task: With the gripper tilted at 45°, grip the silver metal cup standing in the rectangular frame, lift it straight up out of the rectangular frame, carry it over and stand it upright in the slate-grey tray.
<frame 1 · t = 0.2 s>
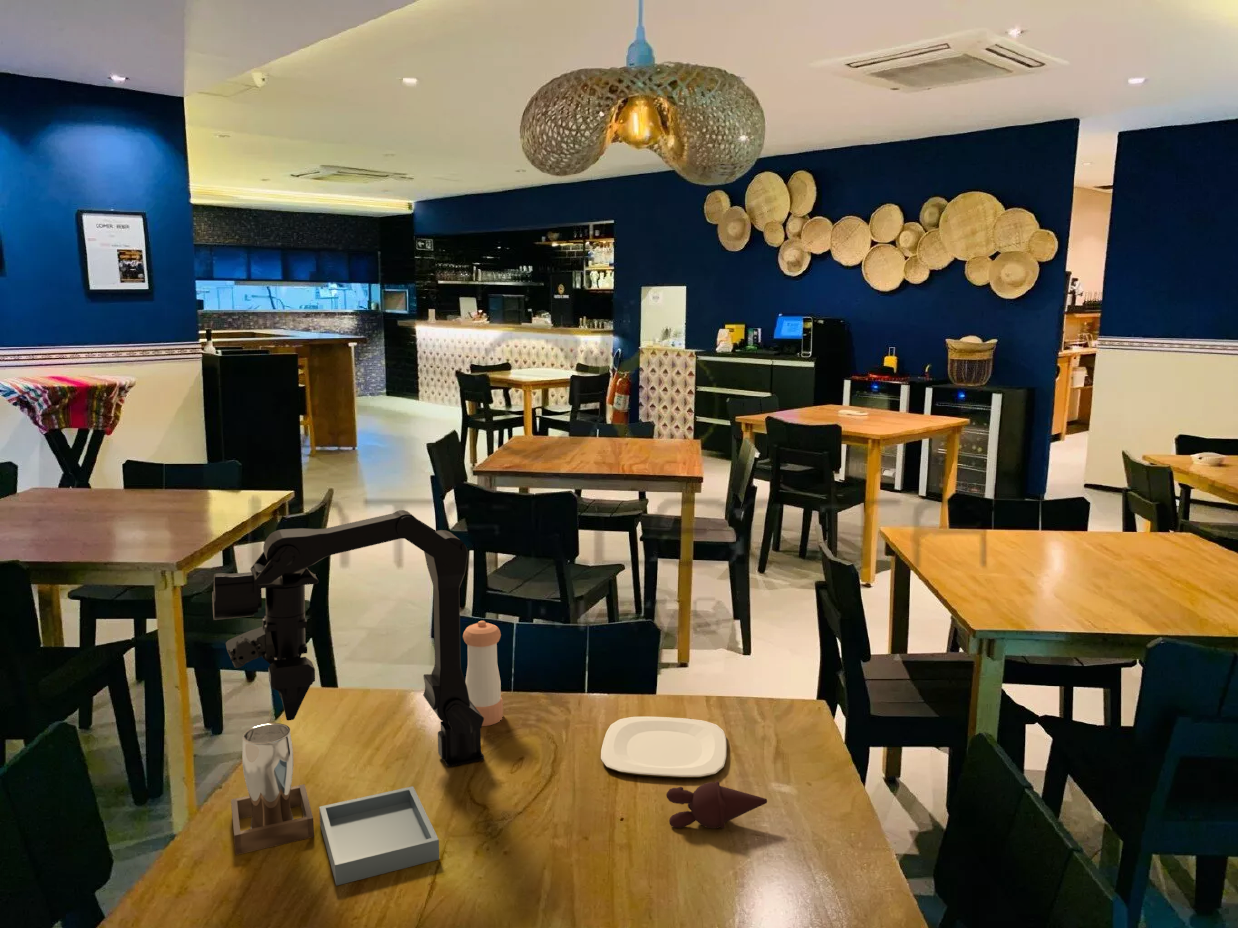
hand: (286, 708, 141), 14 cm above the table, tool pointing down, fingers open, 9 cm apart
salt shaker: (483, 718, 171), on the table
tray: (377, 841, 130), on the table
rectangular frame: (272, 827, 134), on the table
silver metal cup: (272, 828, 134), resting in rectangular frame
plate: (664, 753, 158), on the table
icecream: (716, 826, 135), on the table
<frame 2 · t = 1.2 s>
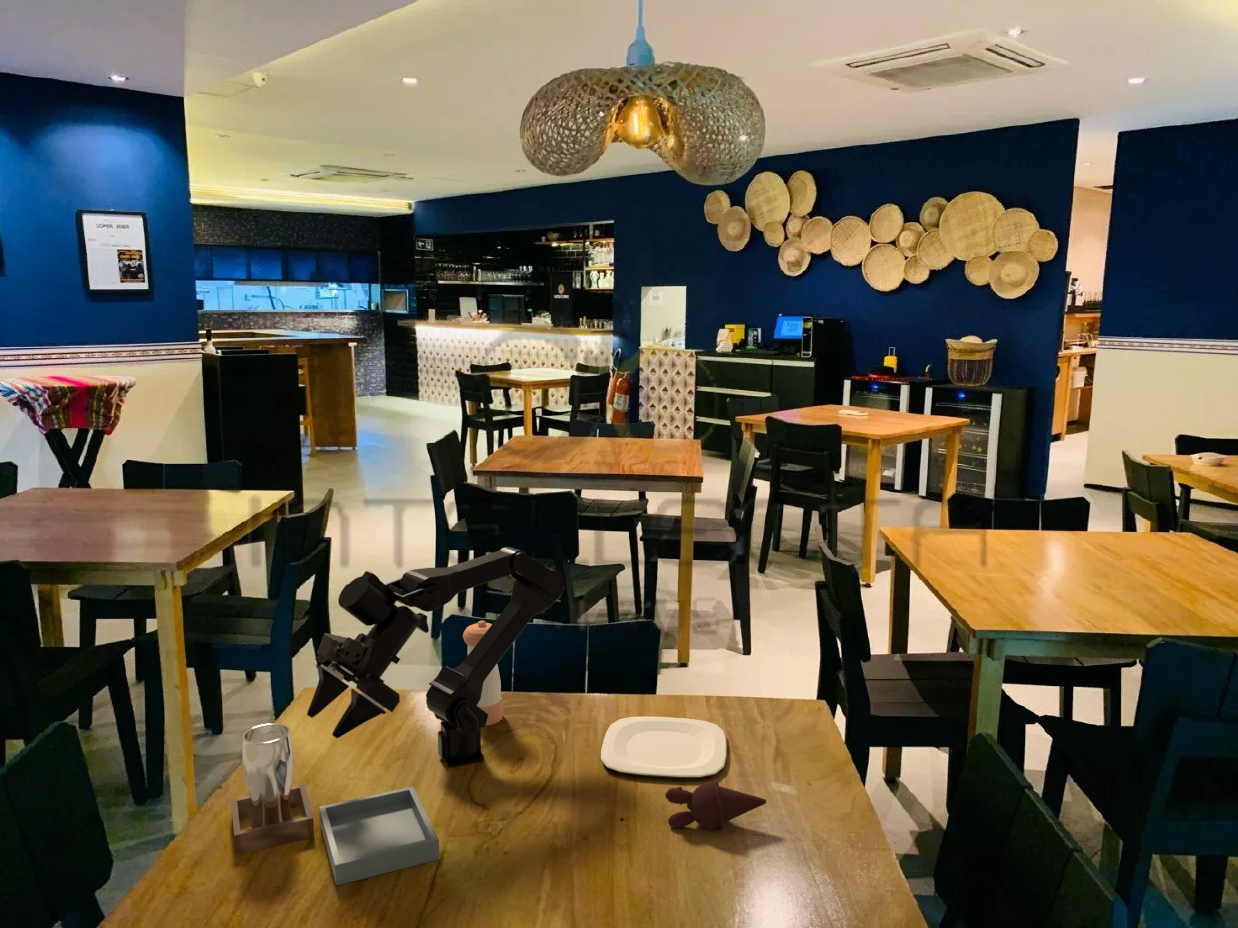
hand: (321, 726, 137), 13 cm above the table, tool tilted 45°, fingers open, 9 cm apart
nothing on the table moved.
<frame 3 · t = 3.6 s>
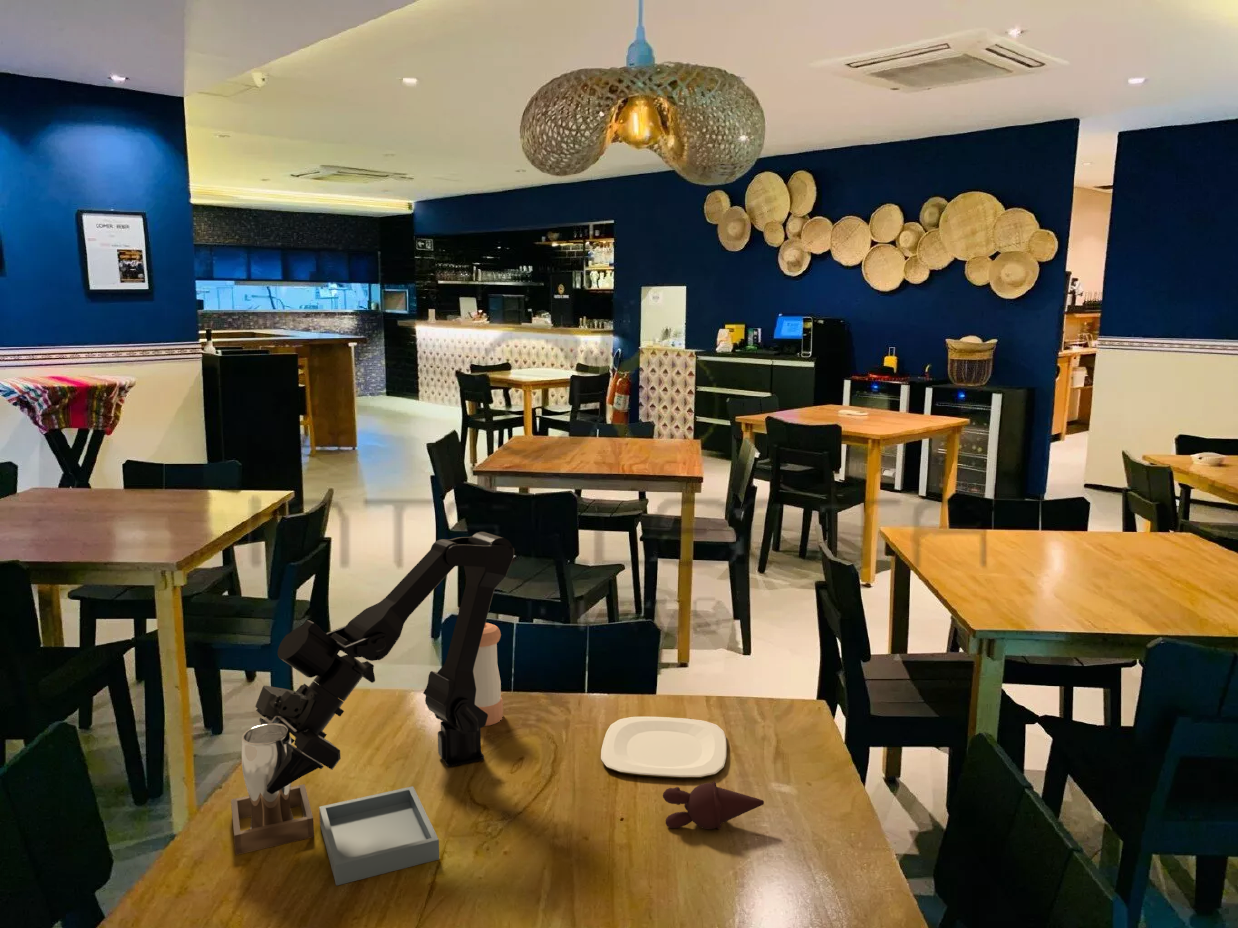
hand: (259, 782, 132), 8 cm above the table, tool tilted 45°, fingers closed on silver metal cup, 7 cm apart
silver metal cup: (272, 828, 134), resting in rectangular frame, touching gripper
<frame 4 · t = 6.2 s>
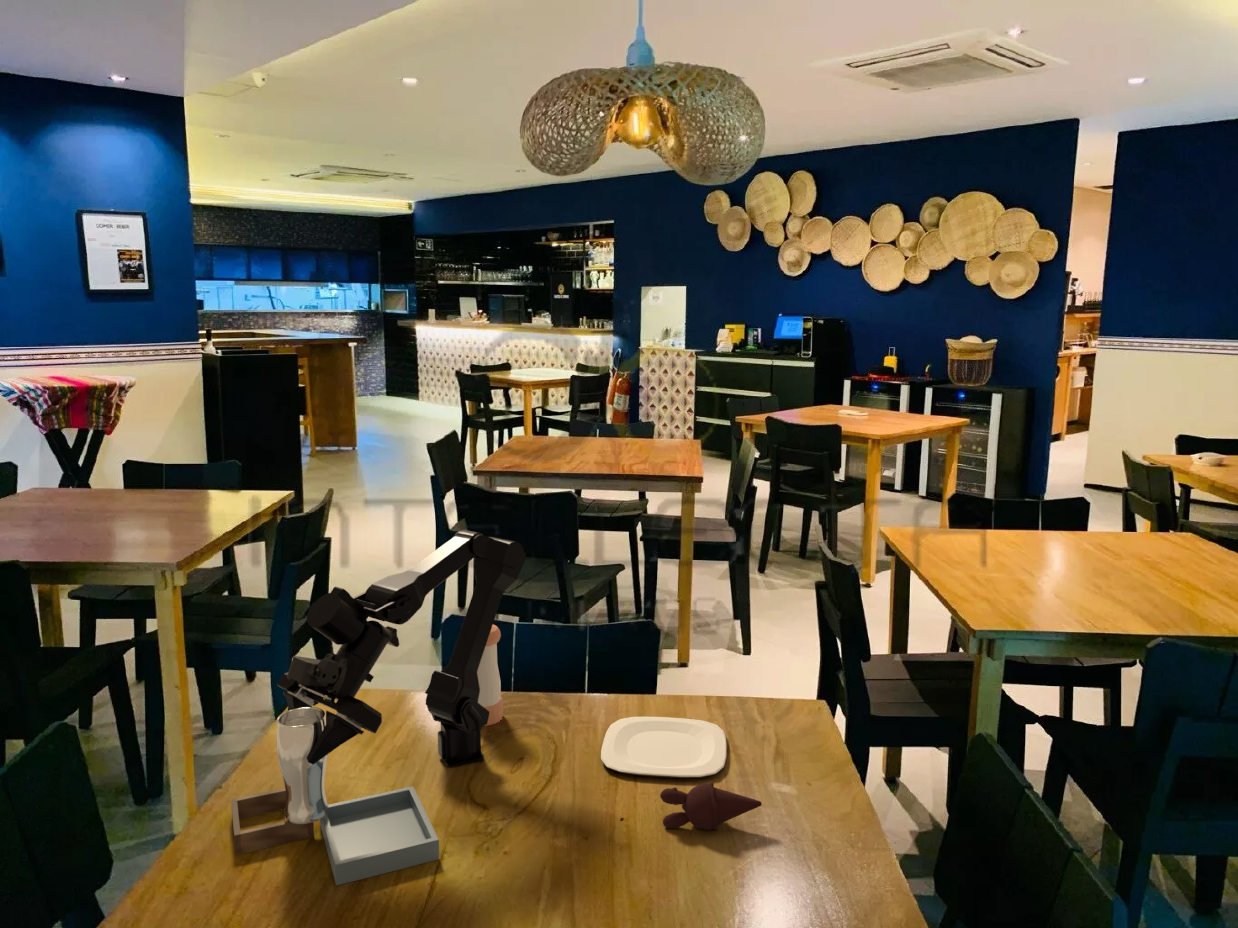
hand: (295, 755, 128), 13 cm above the table, tool tilted 45°, fingers closed on silver metal cup, 7 cm apart
silver metal cup: (306, 814, 131), point 3 cm above the table, touching gripper
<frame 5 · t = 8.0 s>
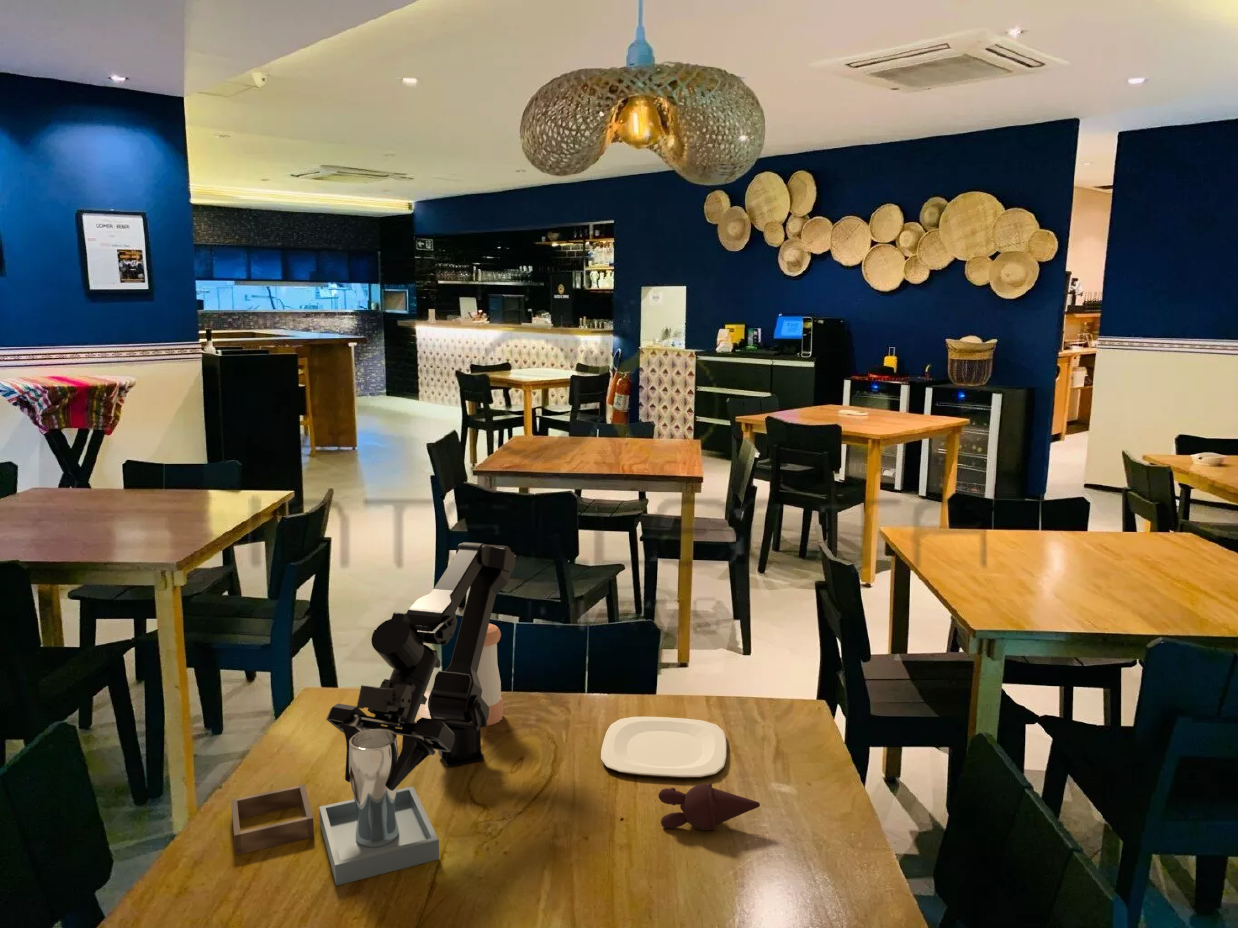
hand: (368, 785, 127), 10 cm above the table, tool tilted 45°, fingers closed on silver metal cup, 7 cm apart
silver metal cup: (377, 836, 130), point 1 cm above the table, touching gripper, tray
when the fingers open (10 cm above the table, at t = 9.0 s): silver metal cup stays where it is, resting on tray.
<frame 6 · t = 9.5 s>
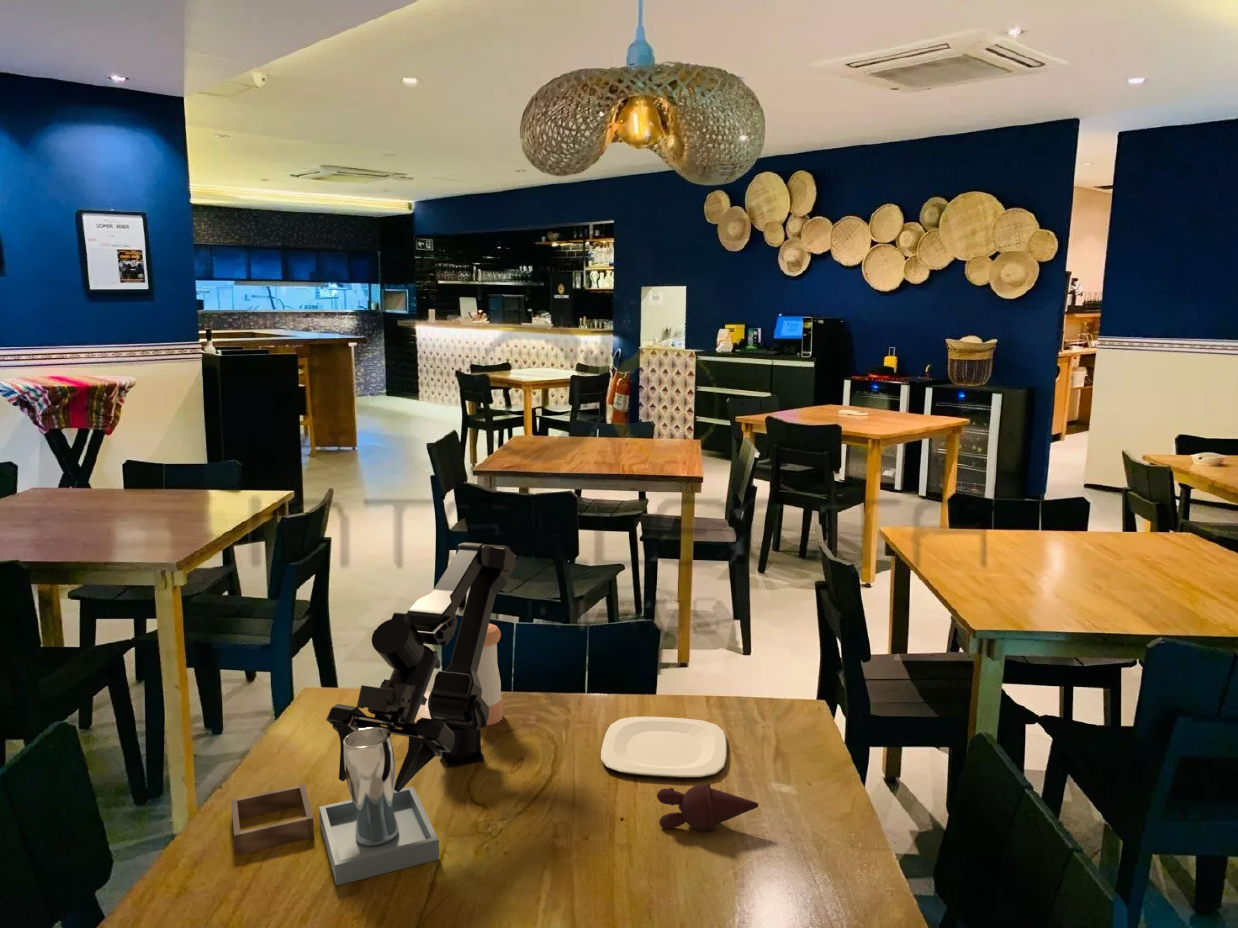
hand: (368, 785, 127), 10 cm above the table, tool tilted 45°, fingers open, 9 cm apart
silver metal cup: (377, 835, 130), point 1 cm above the table, touching gripper, tray
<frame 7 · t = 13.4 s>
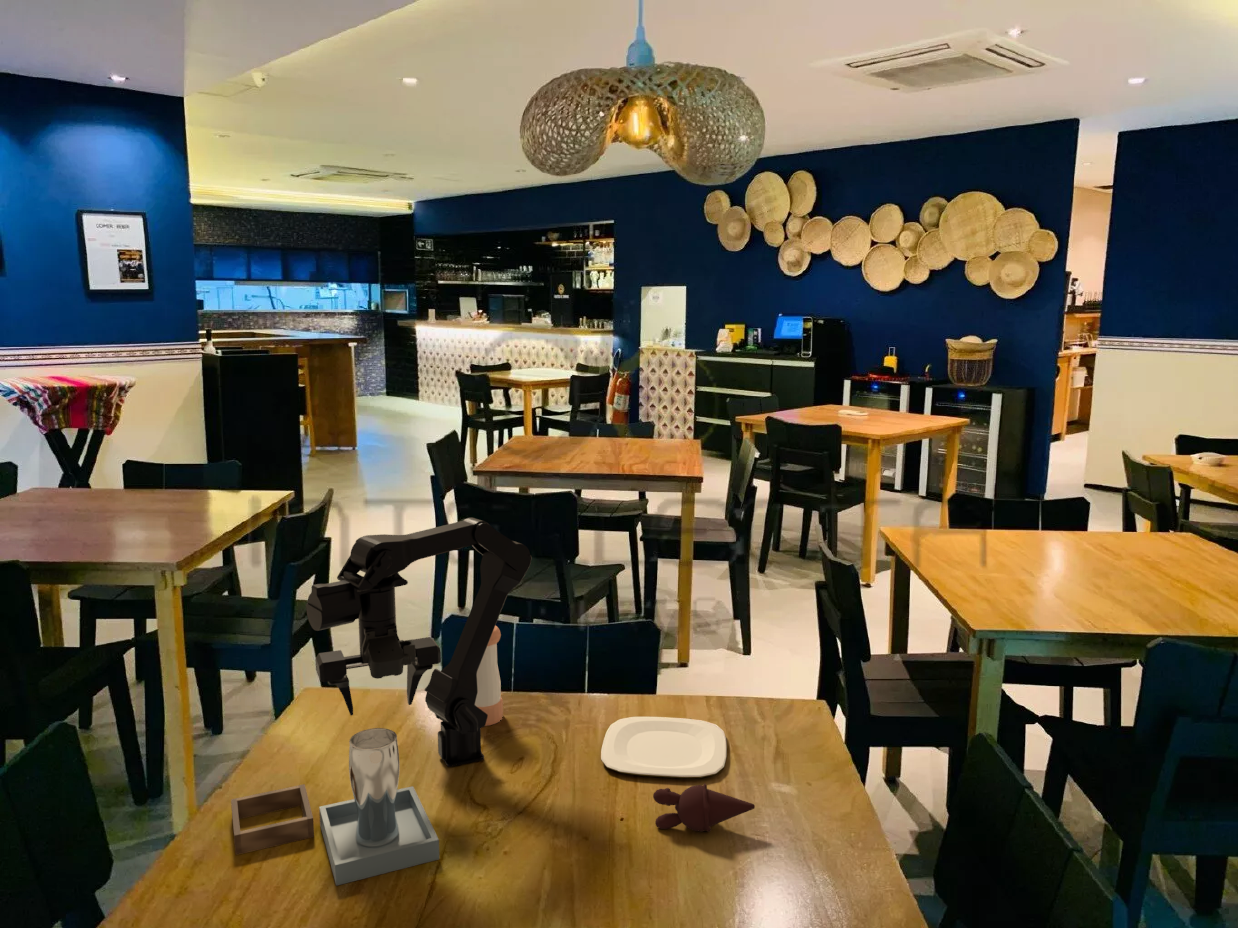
hand: (380, 709, 144), 13 cm above the table, tool pointing down, fingers open, 9 cm apart
silver metal cup: (377, 836, 130), point 1 cm above the table, touching tray
at the end: silver metal cup inside the target area on the tray (0.0 cm from its centre), point 0.8 cm above the tray's base; silver metal cup tilted 0°; the gripper is holding nothing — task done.
